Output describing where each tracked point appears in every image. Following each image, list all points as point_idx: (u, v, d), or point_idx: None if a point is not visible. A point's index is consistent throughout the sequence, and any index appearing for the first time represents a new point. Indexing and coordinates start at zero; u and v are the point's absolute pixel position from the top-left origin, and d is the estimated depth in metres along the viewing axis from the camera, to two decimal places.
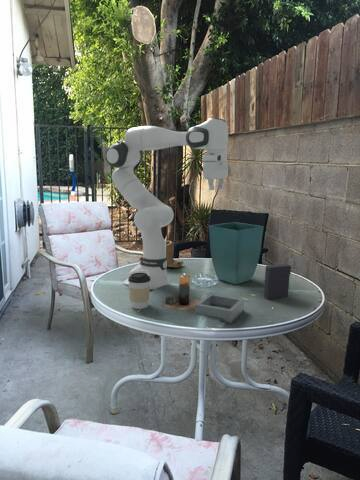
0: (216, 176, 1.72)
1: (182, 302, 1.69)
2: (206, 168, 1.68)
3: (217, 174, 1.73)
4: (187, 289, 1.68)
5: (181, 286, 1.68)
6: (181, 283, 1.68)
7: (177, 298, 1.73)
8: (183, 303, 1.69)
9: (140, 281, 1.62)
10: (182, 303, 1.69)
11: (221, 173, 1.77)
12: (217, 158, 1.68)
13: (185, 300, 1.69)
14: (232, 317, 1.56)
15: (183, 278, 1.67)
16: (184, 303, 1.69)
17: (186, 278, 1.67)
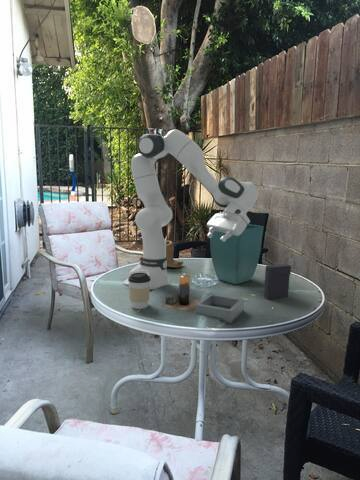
0: None
1: (182, 302, 1.69)
2: (241, 225, 1.69)
3: None
4: (187, 289, 1.68)
5: (181, 286, 1.68)
6: (181, 283, 1.68)
7: (177, 298, 1.73)
8: (183, 303, 1.69)
9: (140, 281, 1.62)
10: (182, 303, 1.69)
11: None
12: None
13: (185, 300, 1.69)
14: (232, 317, 1.56)
15: (183, 278, 1.67)
16: (184, 303, 1.69)
17: (186, 278, 1.67)
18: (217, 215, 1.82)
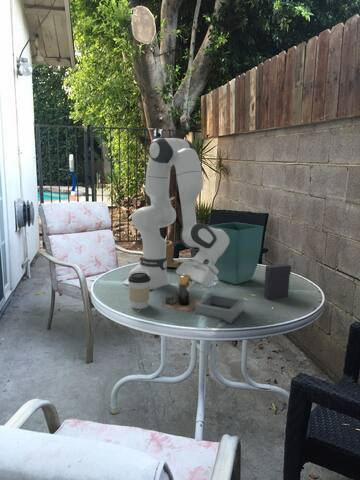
0: None
1: (182, 302, 1.69)
2: (209, 276, 1.64)
3: None
4: None
5: (181, 286, 1.68)
6: (181, 283, 1.68)
7: (177, 298, 1.73)
8: (183, 303, 1.69)
9: (140, 281, 1.62)
10: (182, 303, 1.69)
11: None
12: None
13: (185, 300, 1.69)
14: (232, 317, 1.56)
15: (183, 278, 1.67)
16: (184, 303, 1.69)
17: (186, 278, 1.67)
18: (186, 262, 1.77)
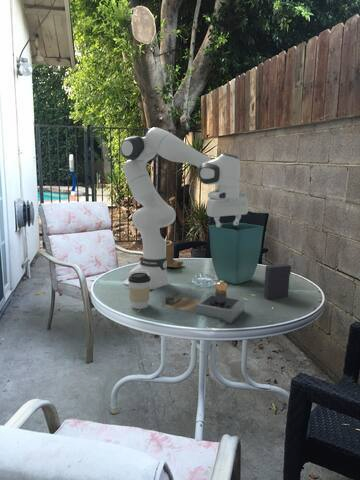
0: (222, 213, 1.69)
1: None
2: (208, 206, 1.67)
3: (224, 211, 1.69)
4: (224, 296, 1.61)
5: (218, 293, 1.61)
6: (218, 290, 1.61)
7: (177, 298, 1.73)
8: None
9: (140, 281, 1.62)
10: None
11: (233, 210, 1.72)
12: (219, 196, 1.65)
13: None
14: (232, 317, 1.56)
15: (220, 285, 1.60)
16: None
17: (224, 285, 1.60)
18: None
